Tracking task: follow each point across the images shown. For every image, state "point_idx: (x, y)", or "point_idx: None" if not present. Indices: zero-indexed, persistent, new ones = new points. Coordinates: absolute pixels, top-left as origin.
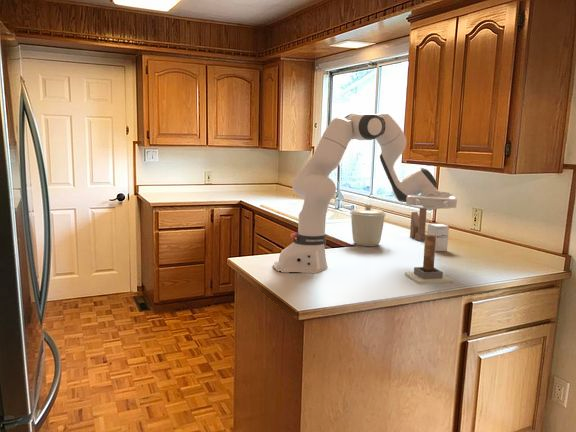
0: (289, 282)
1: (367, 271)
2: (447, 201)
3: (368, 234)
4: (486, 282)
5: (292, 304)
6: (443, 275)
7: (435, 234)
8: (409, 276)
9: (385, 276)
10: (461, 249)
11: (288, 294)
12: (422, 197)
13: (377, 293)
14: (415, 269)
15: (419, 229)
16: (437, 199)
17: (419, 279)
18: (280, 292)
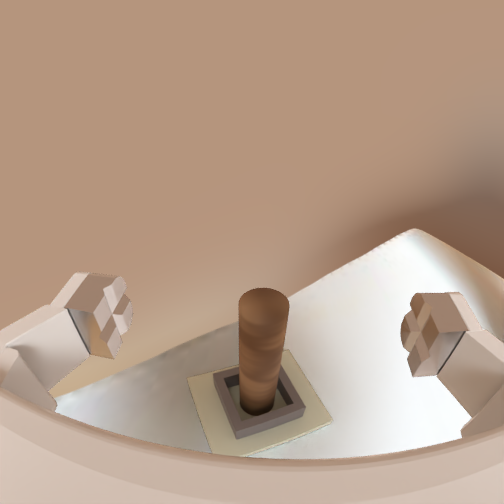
0: (492, 293)
1: (434, 412)
2: (4, 330)
3: None
4: (89, 389)
5: (431, 236)
6: (202, 415)
7: None
8: (313, 392)
9: (379, 387)
10: None
11: (458, 257)
12: (492, 434)
13: (359, 282)
14: (300, 400)
15: None
16: (98, 432)
17: (284, 362)
18: (469, 260)
